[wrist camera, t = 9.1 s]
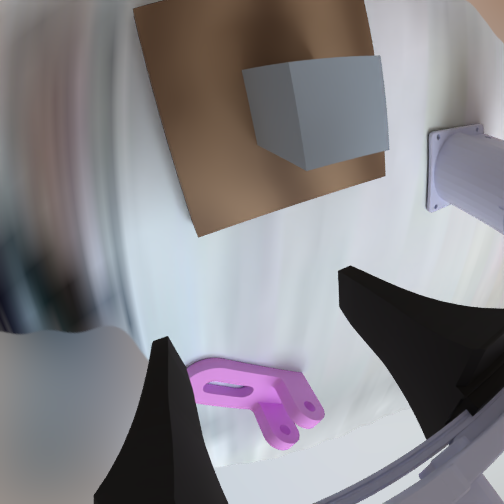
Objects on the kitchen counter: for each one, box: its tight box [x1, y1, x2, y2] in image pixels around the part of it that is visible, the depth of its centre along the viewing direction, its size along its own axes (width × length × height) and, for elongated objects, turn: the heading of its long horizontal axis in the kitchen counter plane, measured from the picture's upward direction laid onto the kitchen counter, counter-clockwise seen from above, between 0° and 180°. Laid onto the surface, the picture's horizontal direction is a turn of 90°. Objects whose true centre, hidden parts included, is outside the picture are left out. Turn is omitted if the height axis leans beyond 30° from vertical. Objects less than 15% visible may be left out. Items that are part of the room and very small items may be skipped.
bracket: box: [187, 358, 325, 450], centre depth 28 cm, size 13×6×7 cm, turn 56°
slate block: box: [242, 56, 389, 171], centre depth 14 cm, size 4×4×6 cm
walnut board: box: [133, 0, 385, 237], centre depth 17 cm, size 14×14×2 cm
